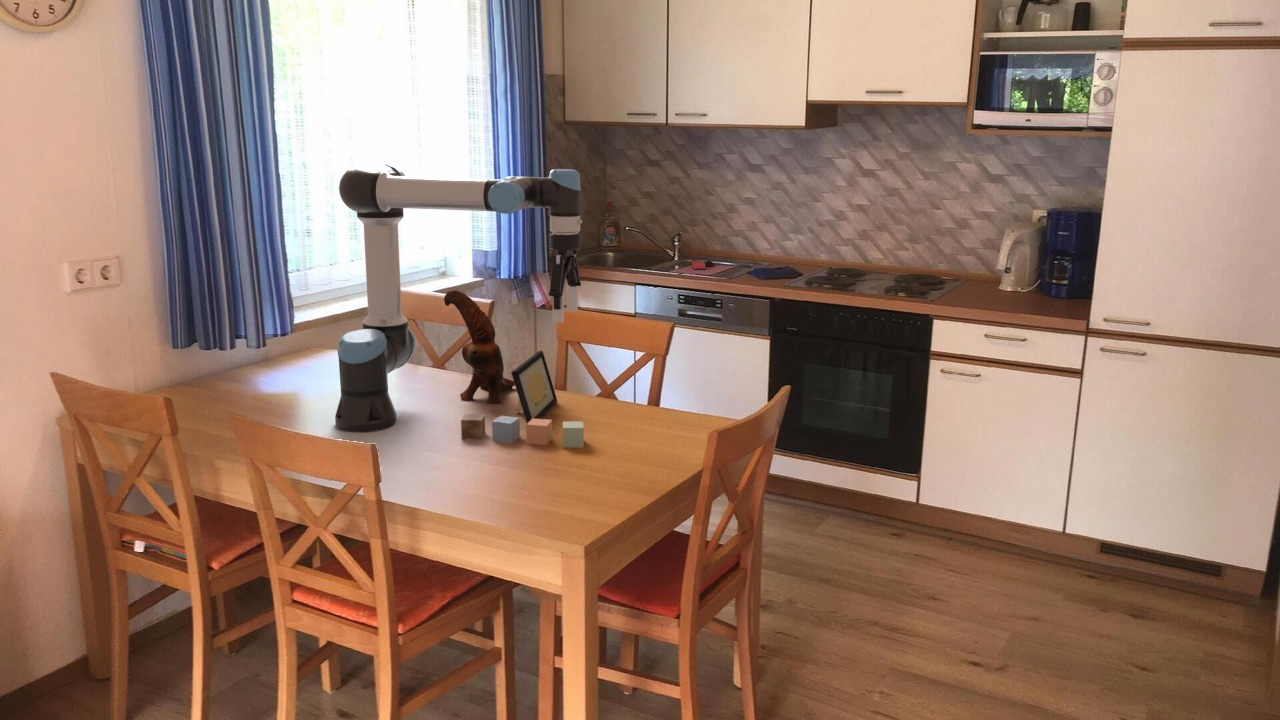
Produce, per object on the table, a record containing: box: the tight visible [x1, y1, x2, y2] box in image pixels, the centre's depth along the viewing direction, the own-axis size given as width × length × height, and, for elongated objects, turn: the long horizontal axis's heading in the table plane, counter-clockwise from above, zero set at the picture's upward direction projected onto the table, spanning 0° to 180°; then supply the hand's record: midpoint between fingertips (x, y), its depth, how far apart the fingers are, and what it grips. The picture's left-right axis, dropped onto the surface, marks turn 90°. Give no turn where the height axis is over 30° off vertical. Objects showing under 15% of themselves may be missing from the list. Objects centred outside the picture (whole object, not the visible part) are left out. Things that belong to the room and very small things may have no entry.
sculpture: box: [443, 290, 515, 405], centre depth 280 cm, size 19×18×30 cm
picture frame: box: [510, 350, 558, 424], centre depth 265 cm, size 23×9×15 cm, turn 168°
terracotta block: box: [526, 418, 553, 446], centre depth 244 cm, size 5×5×5 cm
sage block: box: [562, 421, 585, 448], centre depth 242 cm, size 5×5×5 cm
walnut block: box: [460, 413, 486, 440], centre depth 247 cm, size 5×5×5 cm
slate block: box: [491, 415, 521, 444], centre depth 246 cm, size 5×5×5 cm
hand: (565, 316), depth 253 cm, fingers open, 13 cm apart
